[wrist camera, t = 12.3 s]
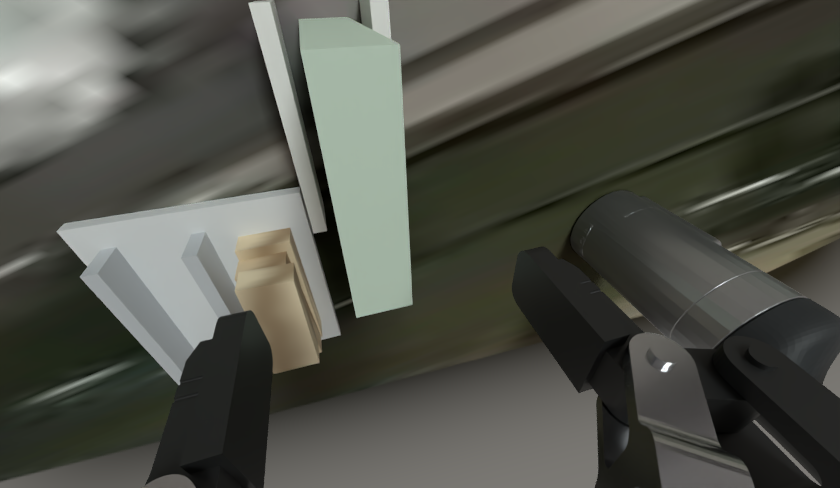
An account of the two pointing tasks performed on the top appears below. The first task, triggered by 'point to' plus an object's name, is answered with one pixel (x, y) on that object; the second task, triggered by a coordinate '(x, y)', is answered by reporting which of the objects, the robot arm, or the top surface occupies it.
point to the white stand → (285, 93)
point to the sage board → (362, 154)
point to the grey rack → (188, 267)
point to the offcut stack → (279, 297)
